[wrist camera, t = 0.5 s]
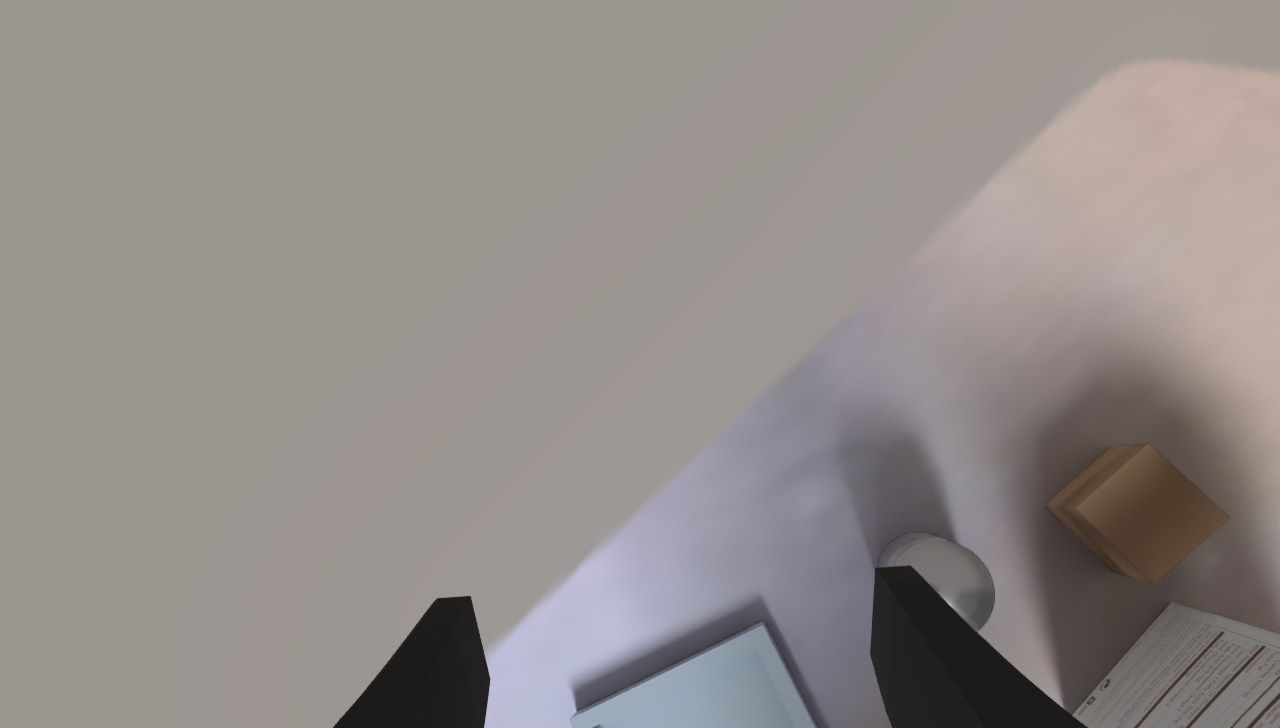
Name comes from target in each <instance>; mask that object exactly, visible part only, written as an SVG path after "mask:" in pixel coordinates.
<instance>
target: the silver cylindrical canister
mask: <svg viewBox="0 0 1280 728" xmlns="http://www.w3.org/2000/svg"><path fill="white" fill-rule="evenodd" d="M908 565H911V566H912V567H913V568H914V569H915V570H916V571H917V572H918V573H919V574H920V575H921V576H922V577H923V578H924V579H925V580H926V581H927V582H928V583H929V584H930V585H931V586H932V587H933V588H934V589H935V590H936V591H937V593H938V594H939V595H940V596H941V597H942V598H943V599H944V600H945V601H946V602H947V603H948V604H949V605H950V606H951V607H952V608H953V609H954V610H955V611H956V612H957V613H958V614H959V615H960V616H961V617H962V618H963V619H964V620H965V621H966V622H967V623H968V624H969V625H970V626H971V627H972V628H973V629H974V630H975V631H976V632H977V631H979V630H980V629H981V628H982V627H983V626H984V625H985V623H986V622H987V621H988V619H989V617H990V615H991V613H992V610H993V607H994V602H995V589H994V584H993V580H992V577H991V575H990V573H989V571H988V569H987V567H986V566H985V564H984V563H983V562H982V561H981V559H980V558H979V557H978V556H977V555H975V554H974V553H973V552H972V551H970V550H969V549H967V548H965V547H963V546H961V545H959V544H956V543H954V542H951V541H948V540H946V539H943V538H940V537H938V536H935V535H932V534H928V533H922V532H915V533H908V534H905V535H902V536H900V537H898V538H896V539H895V540H893V541H892V542H891V543H890V544H889V545H888V546H887V547H886V548H885V550H884V551H883V553H882V555H881V557H880V560H879V564H878V568H879V567H894V566H908Z"/></svg>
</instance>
